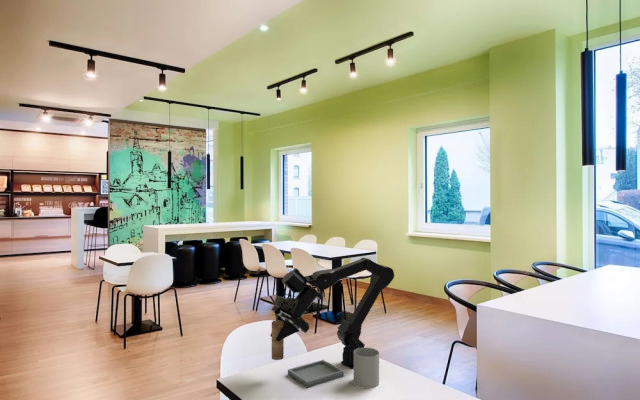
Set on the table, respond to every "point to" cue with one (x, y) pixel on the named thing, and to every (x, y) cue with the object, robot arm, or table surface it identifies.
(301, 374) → the tray
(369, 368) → the cup
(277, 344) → the dowel
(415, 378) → the table surface
